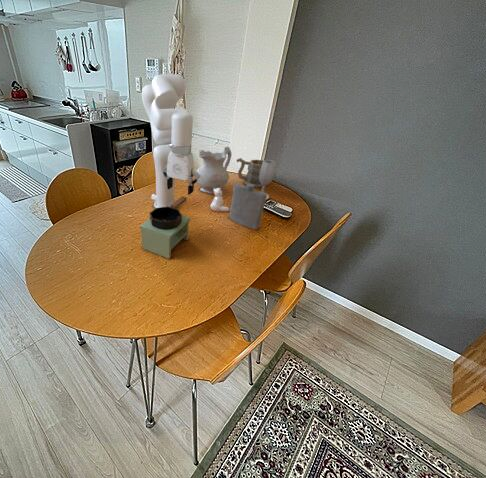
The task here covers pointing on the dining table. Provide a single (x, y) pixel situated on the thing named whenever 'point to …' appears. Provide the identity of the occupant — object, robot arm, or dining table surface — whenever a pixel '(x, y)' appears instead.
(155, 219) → the pan
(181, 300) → the dining table surface
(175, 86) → the robot arm
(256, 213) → the hip flask
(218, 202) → the sitting furry creature
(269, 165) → the wineglass
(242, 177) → the tankard
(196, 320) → the dining table surface
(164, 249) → the sage green box
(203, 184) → the ceramic pitcher
